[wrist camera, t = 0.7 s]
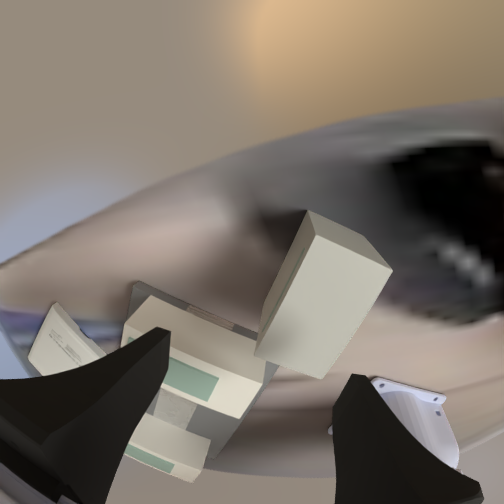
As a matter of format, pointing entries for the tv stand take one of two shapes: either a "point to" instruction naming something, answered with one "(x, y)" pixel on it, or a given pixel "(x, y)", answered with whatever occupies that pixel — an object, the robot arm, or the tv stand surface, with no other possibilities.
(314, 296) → the block
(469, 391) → the tv stand surface
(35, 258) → the tv stand surface
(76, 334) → the external hard drive
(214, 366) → the rail panel
